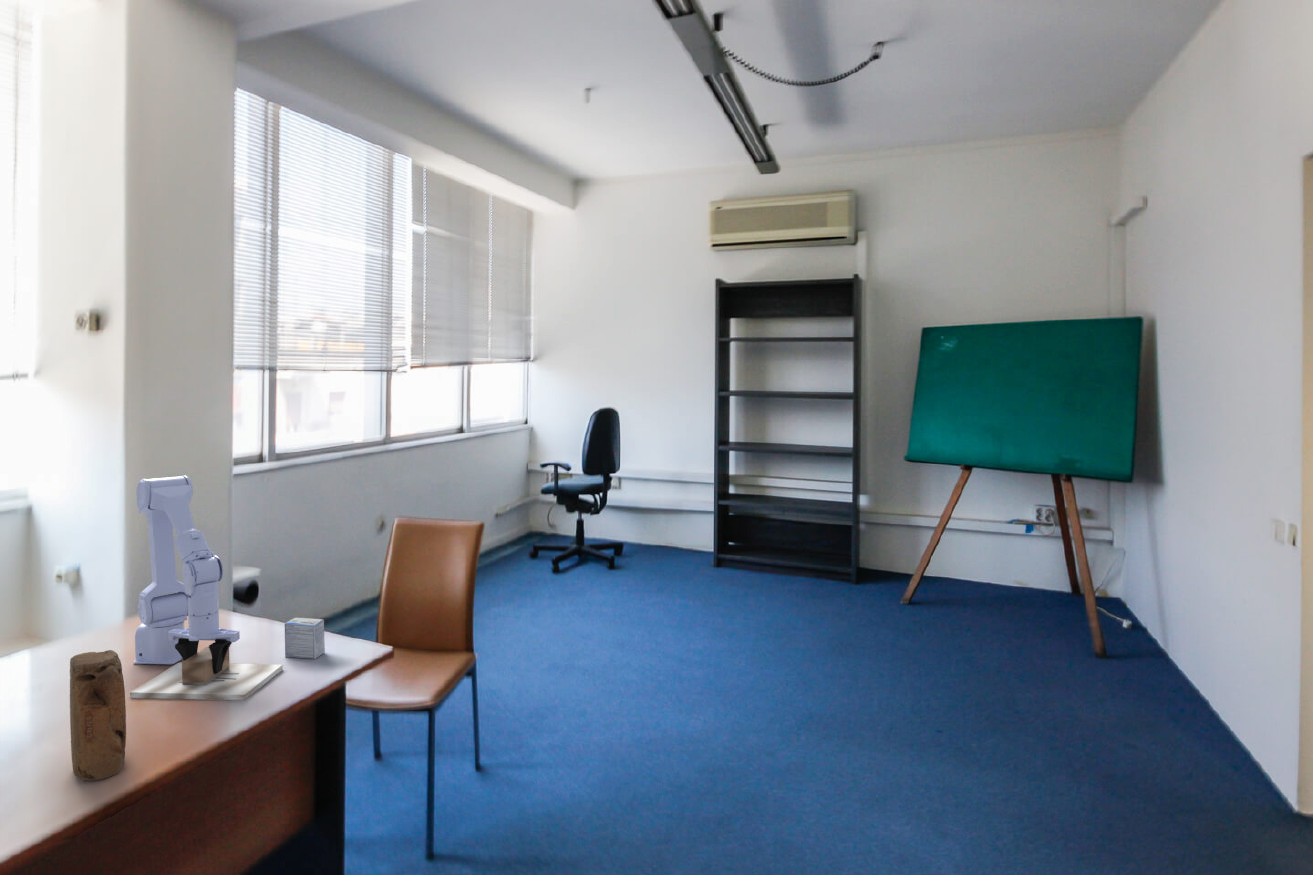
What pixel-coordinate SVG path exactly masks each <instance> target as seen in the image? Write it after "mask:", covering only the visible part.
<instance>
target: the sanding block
mask: <svg viewBox="0 0 1313 875" xmlns="http://www.w3.org/2000/svg"><path fill="white" fill-rule="evenodd" d="M229 664H230V648H229V649H228V651H227V653H226V656H225V659H224V662H223V667H222V671H220V672H219V673H217V674H214V673H213V661H212V655H211V651H210V649H209V646H206V647H204V648H203V649H201V650H199V651H197V653H196V654H195V655H193V656H191V657H190V658H188V659H186V660H185V661H184V660H183V661H182V685H207V684H208V683H210V682H211V681H212V680H214V679H215V678H217V677H218V676H220V675H221V674H222V673H224V672H225V671H227V670H228V669H229V668H230V665H229Z"/></svg>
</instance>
